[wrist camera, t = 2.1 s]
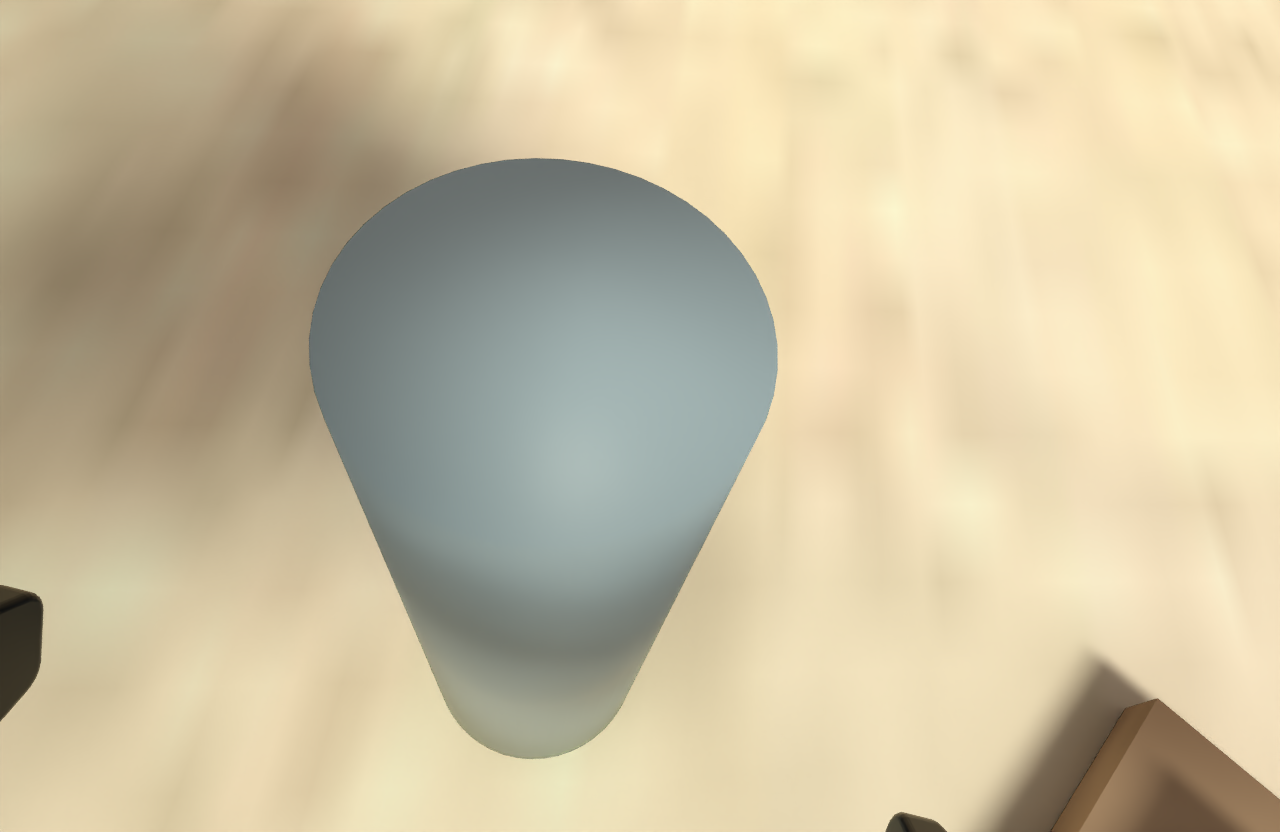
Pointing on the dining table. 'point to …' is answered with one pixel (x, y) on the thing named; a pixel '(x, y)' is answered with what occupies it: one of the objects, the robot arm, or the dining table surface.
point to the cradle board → (1166, 782)
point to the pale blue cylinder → (541, 425)
